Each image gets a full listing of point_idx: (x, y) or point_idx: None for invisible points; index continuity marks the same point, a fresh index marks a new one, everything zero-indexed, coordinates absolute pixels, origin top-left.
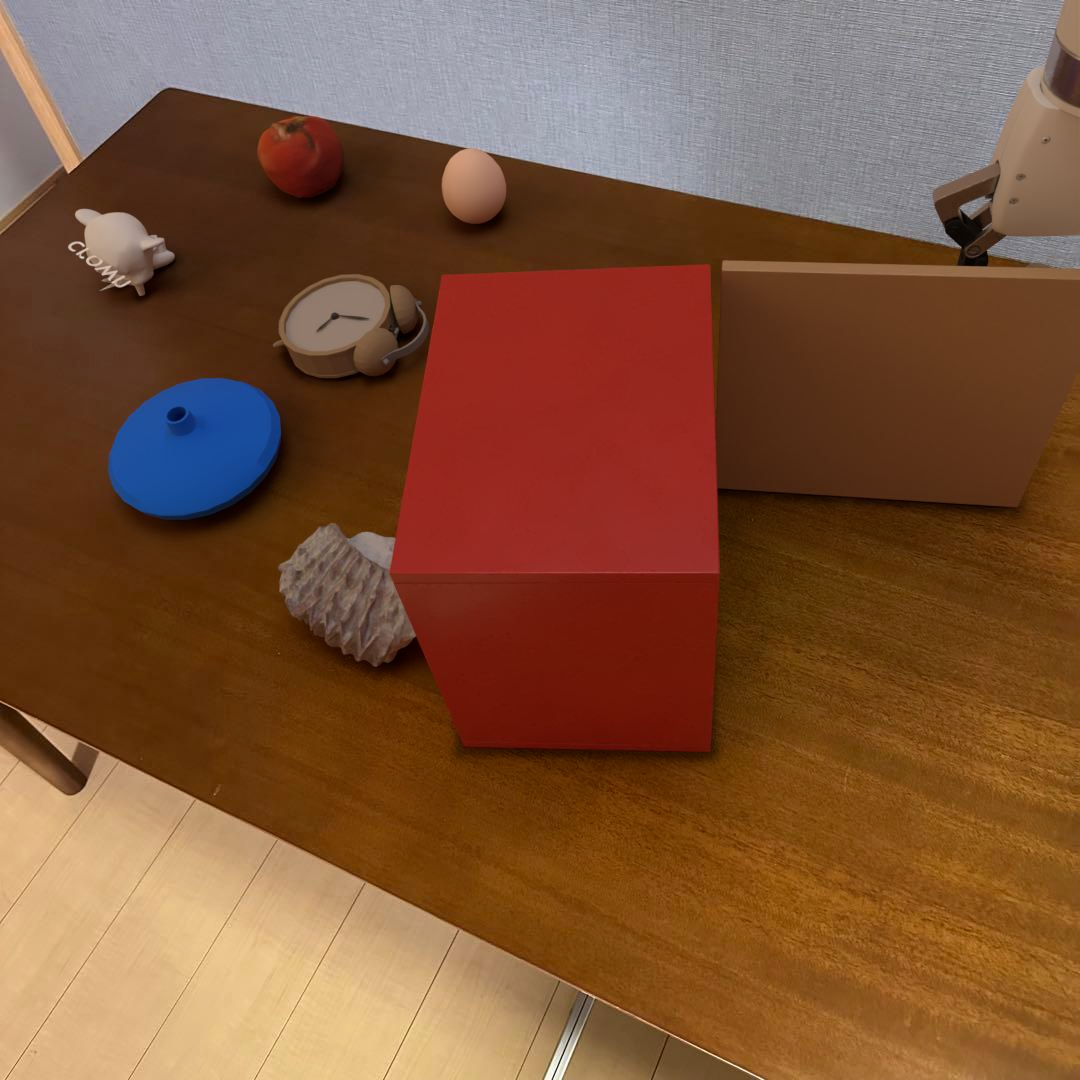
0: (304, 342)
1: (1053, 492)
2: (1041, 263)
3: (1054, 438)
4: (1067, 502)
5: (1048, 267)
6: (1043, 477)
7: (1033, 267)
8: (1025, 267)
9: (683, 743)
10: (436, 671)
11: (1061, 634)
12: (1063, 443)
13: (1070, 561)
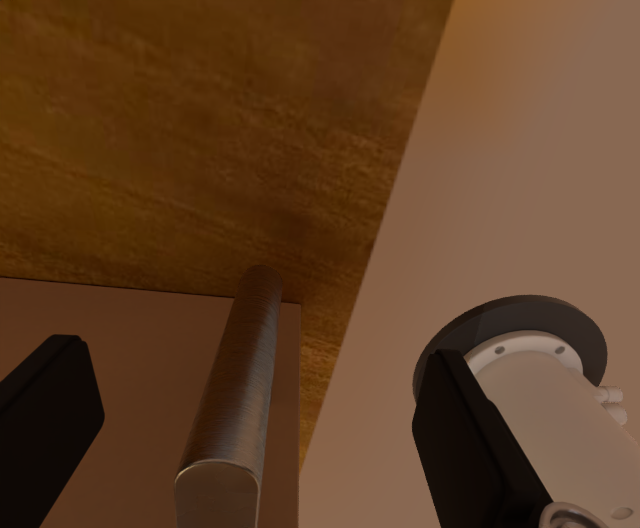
0: None
1: (340, 295)
2: (228, 464)
3: (361, 226)
4: (350, 306)
5: (246, 477)
6: (335, 277)
7: (203, 474)
8: (179, 473)
9: None
10: None
11: (310, 417)
12: (369, 234)
13: (335, 363)
